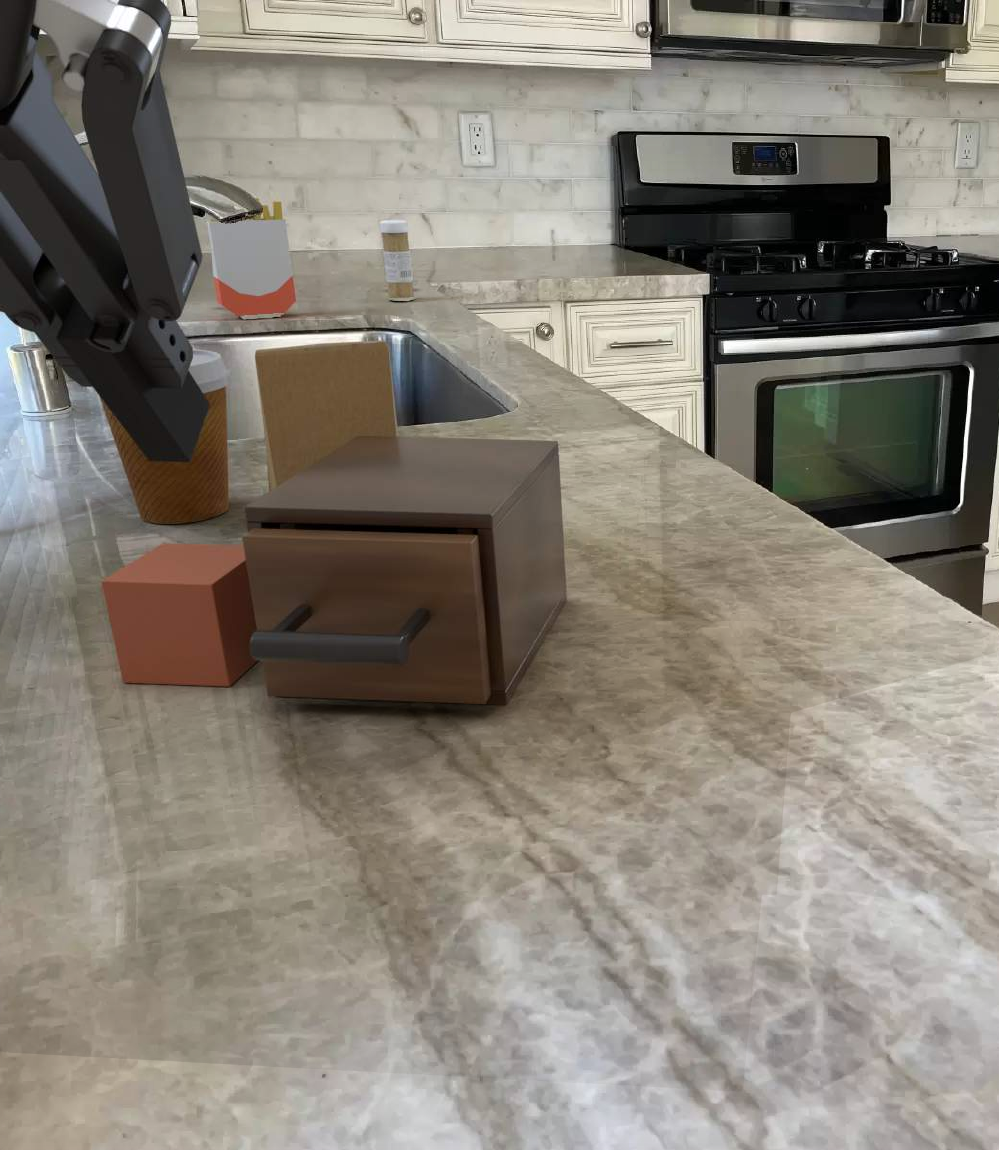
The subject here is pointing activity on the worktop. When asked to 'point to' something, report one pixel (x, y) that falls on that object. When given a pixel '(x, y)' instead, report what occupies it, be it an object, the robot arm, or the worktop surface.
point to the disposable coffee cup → (183, 485)
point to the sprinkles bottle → (397, 258)
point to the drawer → (369, 612)
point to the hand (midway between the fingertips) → (179, 431)
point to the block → (182, 615)
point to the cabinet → (452, 521)
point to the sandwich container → (322, 401)
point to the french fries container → (252, 264)
